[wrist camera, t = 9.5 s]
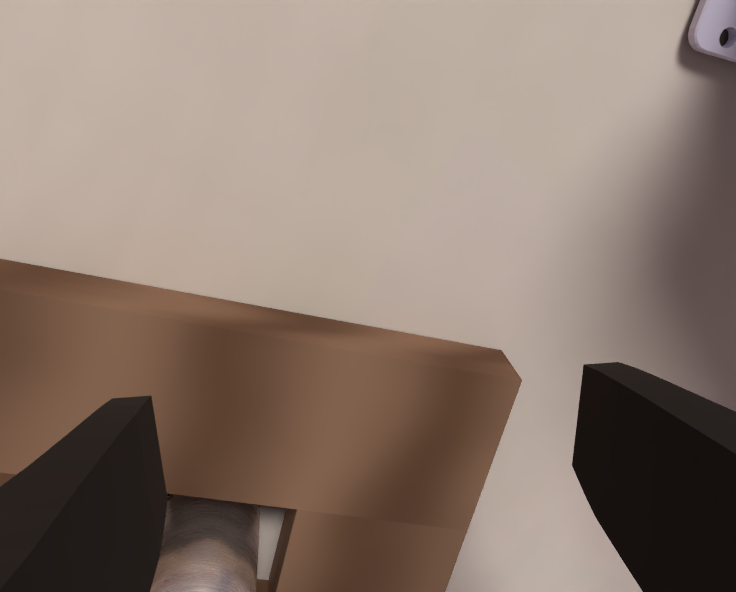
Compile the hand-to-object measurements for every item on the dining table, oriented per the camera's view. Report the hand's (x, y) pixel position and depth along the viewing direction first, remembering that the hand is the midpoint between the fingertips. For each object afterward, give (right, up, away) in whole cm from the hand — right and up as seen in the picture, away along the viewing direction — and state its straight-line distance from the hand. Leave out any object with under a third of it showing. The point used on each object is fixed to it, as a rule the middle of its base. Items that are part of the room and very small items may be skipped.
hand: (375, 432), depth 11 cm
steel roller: (-5, -5, +12) cm, 14 cm away
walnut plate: (-5, -5, +12) cm, 14 cm away
